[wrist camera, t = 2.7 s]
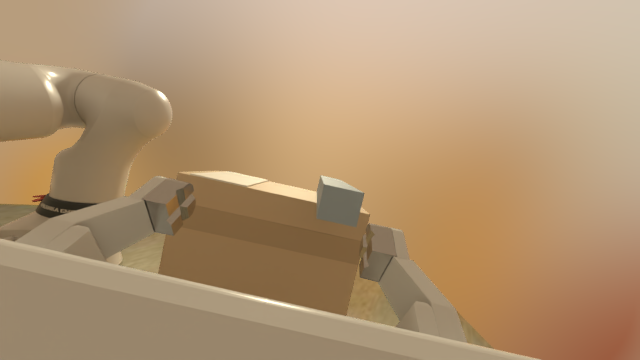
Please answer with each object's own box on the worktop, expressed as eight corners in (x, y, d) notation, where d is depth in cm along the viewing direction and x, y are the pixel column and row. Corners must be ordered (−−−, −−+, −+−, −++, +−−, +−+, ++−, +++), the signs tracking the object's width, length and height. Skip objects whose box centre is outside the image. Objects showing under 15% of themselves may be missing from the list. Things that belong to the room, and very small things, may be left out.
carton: (138, 373, 30) (177, 170, 29) (192, 310, 43) (221, 169, 42) (324, 410, 30) (370, 213, 29) (322, 337, 44) (354, 198, 42)
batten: (316, 218, 20) (324, 184, 20) (316, 191, 42) (320, 175, 42) (356, 227, 20) (364, 193, 20) (336, 196, 42) (339, 179, 42)
